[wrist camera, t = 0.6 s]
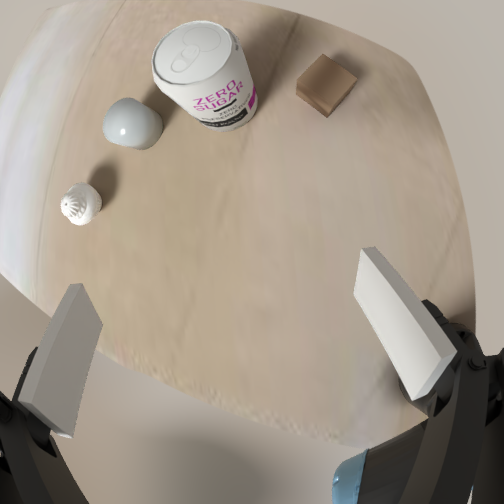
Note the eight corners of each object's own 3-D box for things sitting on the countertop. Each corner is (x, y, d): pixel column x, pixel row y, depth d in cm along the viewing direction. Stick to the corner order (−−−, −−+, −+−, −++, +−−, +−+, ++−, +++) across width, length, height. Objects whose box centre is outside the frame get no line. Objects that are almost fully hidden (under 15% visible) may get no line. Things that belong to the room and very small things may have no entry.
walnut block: (349, 93, 31) (357, 78, 26) (326, 118, 32) (333, 105, 27) (318, 70, 30) (322, 53, 26) (295, 94, 31) (297, 79, 27)
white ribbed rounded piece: (116, 201, 37) (86, 203, 30) (95, 231, 38) (66, 237, 31) (94, 174, 37) (64, 172, 30) (75, 204, 38) (45, 207, 31)
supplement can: (219, 68, 32) (183, 7, 17) (270, 95, 32) (259, 34, 17) (184, 114, 33) (128, 73, 19) (234, 144, 34) (198, 108, 19)
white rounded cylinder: (170, 130, 34) (151, 119, 28) (138, 158, 35) (115, 153, 29) (150, 101, 34) (129, 88, 28) (120, 129, 35) (96, 121, 29)
